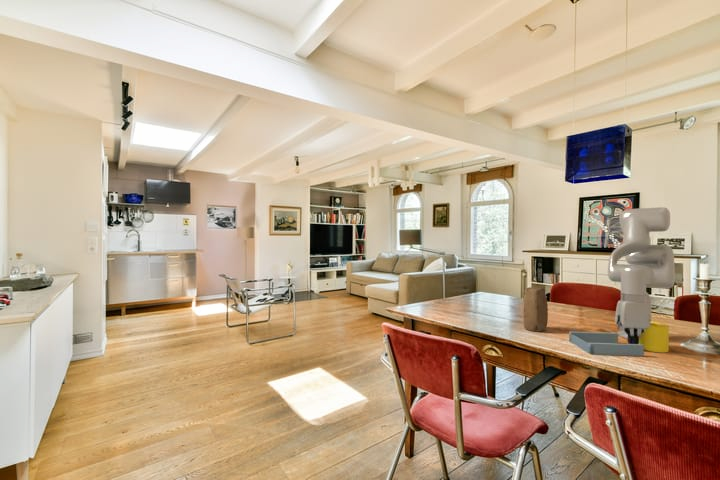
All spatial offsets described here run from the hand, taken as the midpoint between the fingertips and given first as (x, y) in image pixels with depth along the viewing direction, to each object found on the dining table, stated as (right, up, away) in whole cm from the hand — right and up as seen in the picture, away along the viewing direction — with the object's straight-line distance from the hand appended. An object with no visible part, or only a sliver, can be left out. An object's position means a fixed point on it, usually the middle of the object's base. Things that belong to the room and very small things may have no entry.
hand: (633, 345), depth 124 cm
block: (-23, -2, +28) cm, 36 cm away
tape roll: (+8, -2, +1) cm, 8 cm away
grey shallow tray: (-10, -2, +2) cm, 10 cm away
